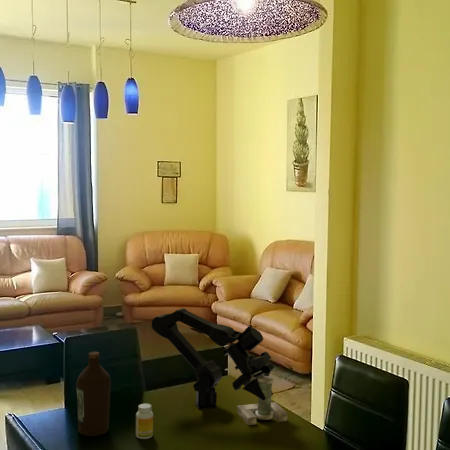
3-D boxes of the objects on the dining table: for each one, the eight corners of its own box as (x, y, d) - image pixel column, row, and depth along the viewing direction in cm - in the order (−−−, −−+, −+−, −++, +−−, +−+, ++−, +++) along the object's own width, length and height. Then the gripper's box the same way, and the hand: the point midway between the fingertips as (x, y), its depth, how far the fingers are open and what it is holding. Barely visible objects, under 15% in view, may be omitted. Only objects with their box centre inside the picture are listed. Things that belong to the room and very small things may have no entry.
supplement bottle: (132, 435, 187) (132, 405, 186) (147, 430, 190) (147, 401, 189) (141, 441, 182) (141, 410, 182) (156, 436, 186) (156, 406, 185)
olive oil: (106, 421, 196) (107, 347, 195) (113, 434, 187) (114, 356, 185) (73, 426, 192) (74, 349, 190) (79, 439, 183) (79, 359, 181)
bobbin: (258, 420, 197) (260, 382, 196) (252, 413, 203) (253, 376, 202) (275, 418, 199) (277, 380, 198) (269, 412, 205) (270, 375, 204)
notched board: (247, 425, 196) (247, 417, 196) (237, 412, 206) (237, 405, 206) (287, 421, 200) (287, 413, 200) (275, 408, 211) (275, 402, 210)
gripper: (241, 351, 194) (269, 392, 188) (270, 339, 209) (297, 377, 203) (220, 370, 199) (247, 410, 193) (251, 357, 214) (276, 394, 209)
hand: (268, 397), depth 200 cm, fingers closed on bobbin, 4 cm apart
